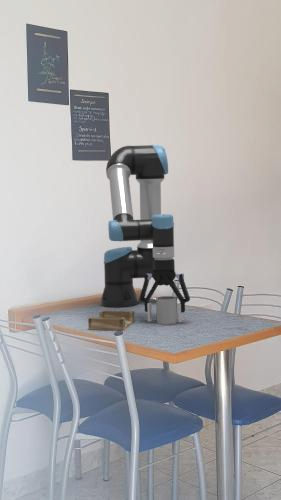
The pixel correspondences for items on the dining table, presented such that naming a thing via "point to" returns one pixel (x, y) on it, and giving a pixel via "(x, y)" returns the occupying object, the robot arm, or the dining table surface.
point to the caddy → (112, 320)
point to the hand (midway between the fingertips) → (165, 321)
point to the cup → (166, 310)
